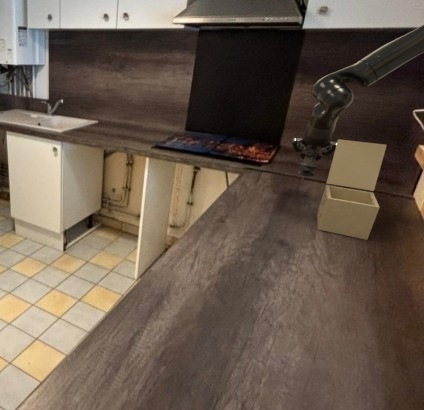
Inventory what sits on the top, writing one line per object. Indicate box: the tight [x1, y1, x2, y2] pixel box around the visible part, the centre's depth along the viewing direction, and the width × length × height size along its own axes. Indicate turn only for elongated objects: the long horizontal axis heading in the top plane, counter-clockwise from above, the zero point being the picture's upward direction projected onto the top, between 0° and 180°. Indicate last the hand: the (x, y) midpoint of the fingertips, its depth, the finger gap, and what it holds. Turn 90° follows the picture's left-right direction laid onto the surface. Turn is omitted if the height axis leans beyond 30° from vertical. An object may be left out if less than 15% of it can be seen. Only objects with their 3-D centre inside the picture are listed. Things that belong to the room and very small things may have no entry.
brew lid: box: [326, 138, 387, 192], centre depth 108 cm, size 14×12×4 cm
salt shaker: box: [297, 149, 319, 177], centre depth 126 cm, size 6×6×12 cm
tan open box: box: [316, 184, 381, 241], centre depth 104 cm, size 13×12×10 cm
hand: (309, 157), depth 127 cm, fingers closed on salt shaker, 3 cm apart
